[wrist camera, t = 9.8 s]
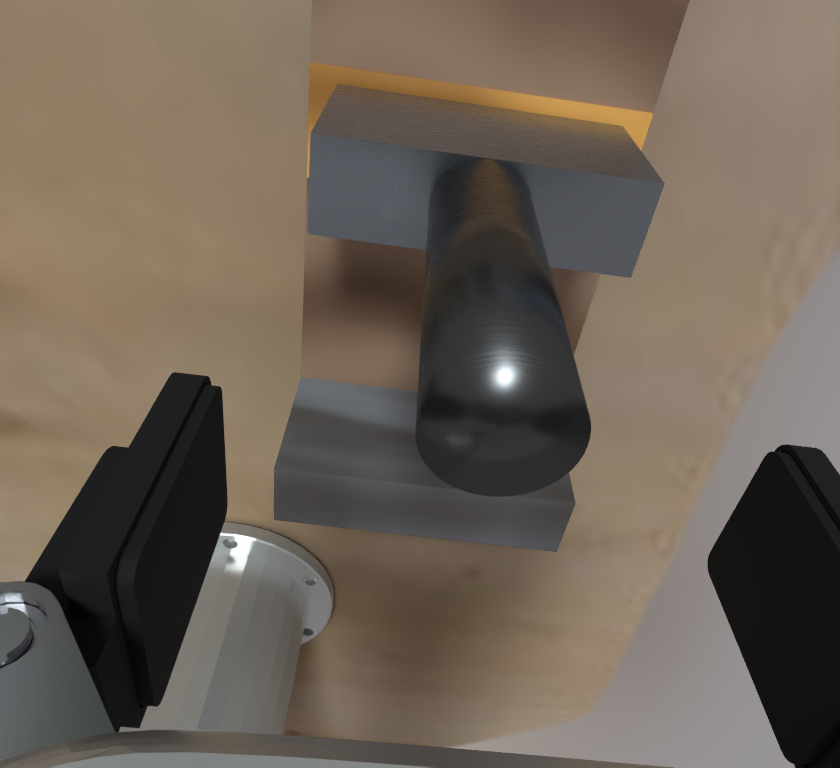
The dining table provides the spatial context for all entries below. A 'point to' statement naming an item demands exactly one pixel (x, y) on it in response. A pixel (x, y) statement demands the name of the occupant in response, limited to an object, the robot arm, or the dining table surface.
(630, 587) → the dining table surface
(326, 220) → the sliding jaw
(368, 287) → the press base
